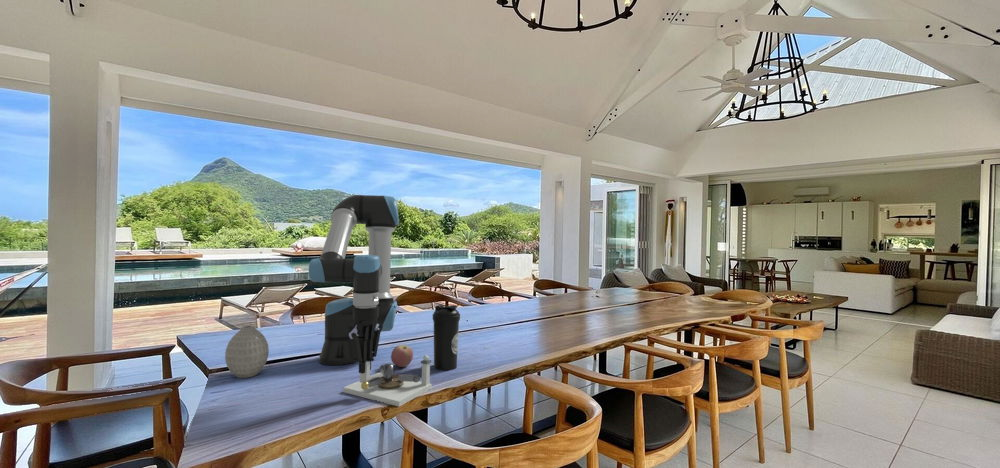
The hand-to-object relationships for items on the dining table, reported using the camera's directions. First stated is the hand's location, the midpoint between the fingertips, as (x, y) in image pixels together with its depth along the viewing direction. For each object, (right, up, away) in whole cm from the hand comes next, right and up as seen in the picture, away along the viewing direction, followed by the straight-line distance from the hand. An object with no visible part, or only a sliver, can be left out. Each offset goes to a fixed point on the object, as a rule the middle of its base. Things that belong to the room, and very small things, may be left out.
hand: (364, 382), depth 128 cm
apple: (+5, -4, +28) cm, 28 cm away
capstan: (+5, -2, +3) cm, 6 cm away
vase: (-46, -3, +16) cm, 48 cm away
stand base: (+6, -4, +5) cm, 9 cm away
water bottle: (+21, -5, +29) cm, 36 cm away
